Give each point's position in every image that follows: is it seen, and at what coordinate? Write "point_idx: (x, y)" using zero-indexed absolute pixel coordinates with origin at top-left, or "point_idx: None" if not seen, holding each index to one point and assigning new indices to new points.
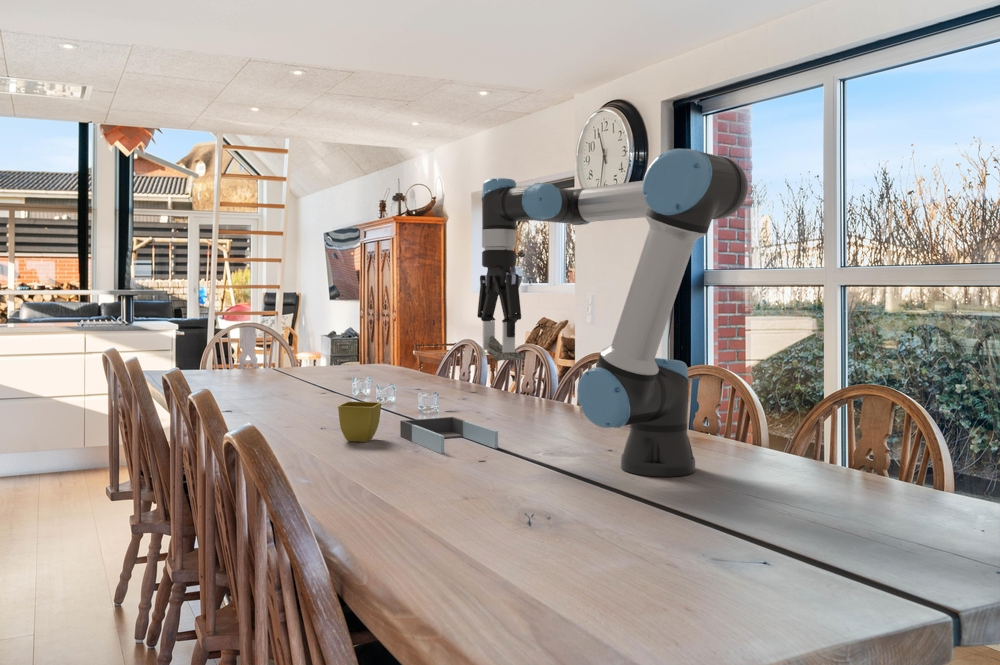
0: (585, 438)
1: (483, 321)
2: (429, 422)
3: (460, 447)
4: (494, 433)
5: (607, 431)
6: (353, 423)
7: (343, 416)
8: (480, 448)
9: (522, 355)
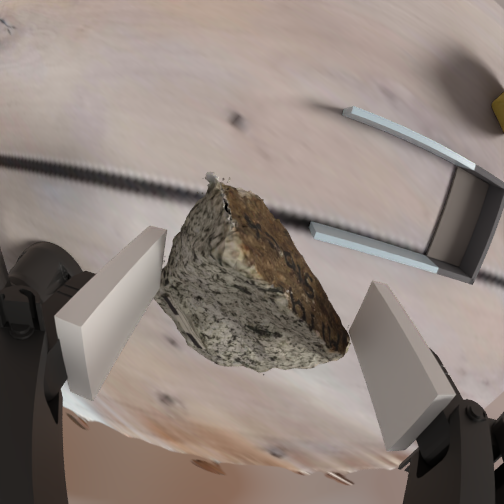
0: (264, 380)
1: (447, 393)
2: (485, 235)
3: (365, 180)
4: (317, 230)
5: (279, 423)
6: None
7: None
8: (331, 202)
9: (186, 338)
